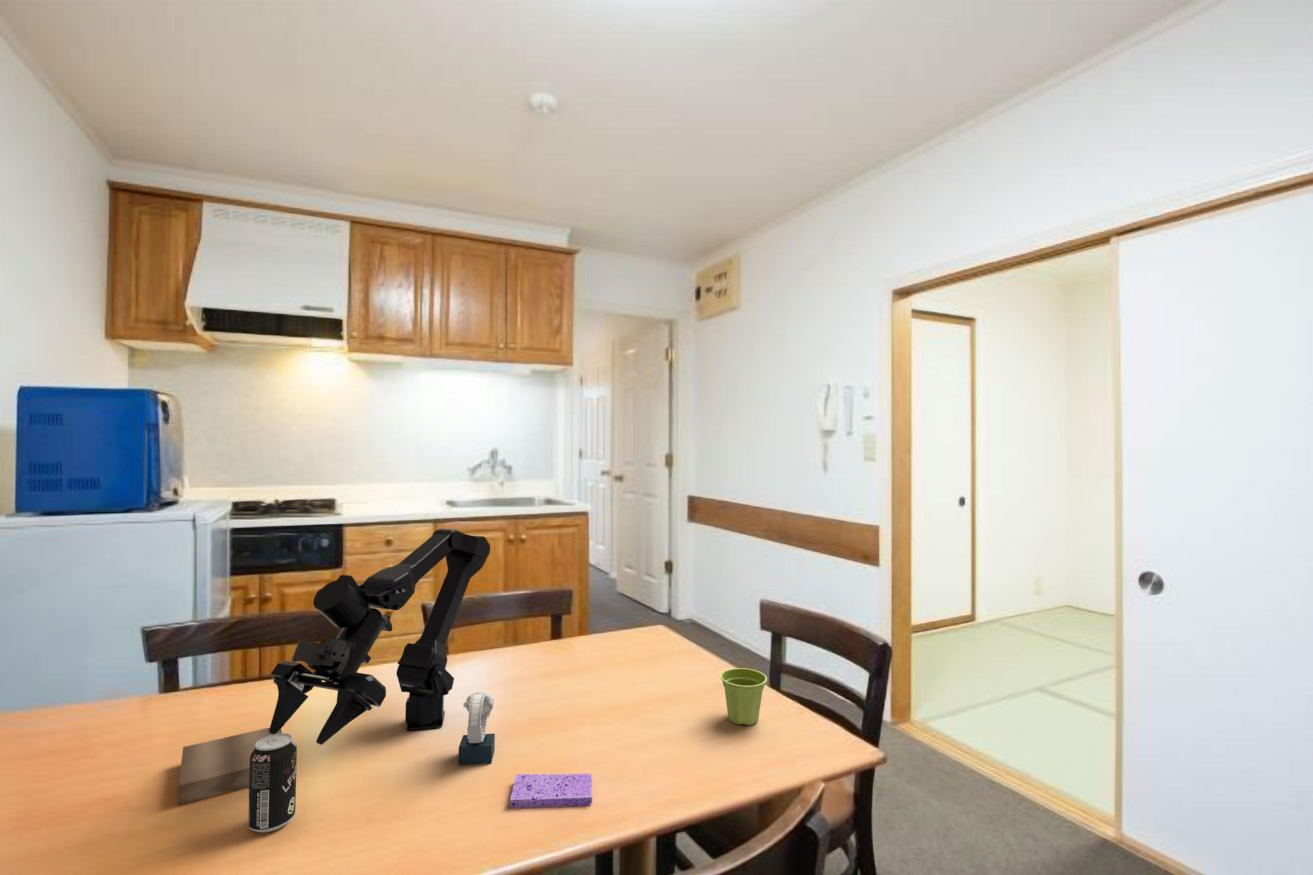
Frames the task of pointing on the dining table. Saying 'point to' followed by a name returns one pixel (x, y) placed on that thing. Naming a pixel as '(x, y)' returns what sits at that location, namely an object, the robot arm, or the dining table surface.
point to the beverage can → (272, 783)
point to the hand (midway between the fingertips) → (294, 738)
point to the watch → (477, 731)
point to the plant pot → (743, 694)
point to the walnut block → (217, 766)
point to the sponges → (551, 790)
